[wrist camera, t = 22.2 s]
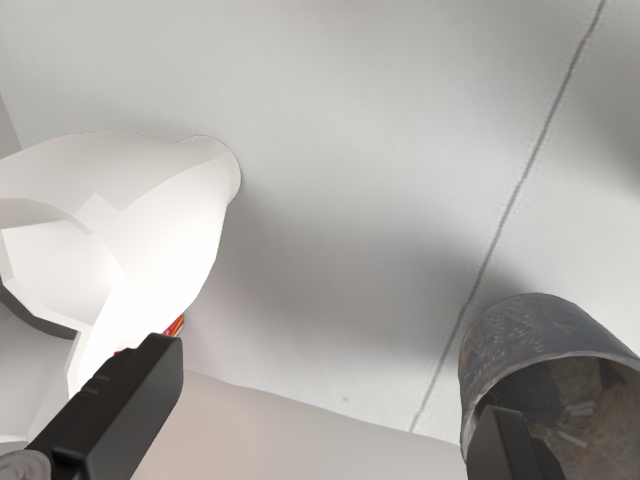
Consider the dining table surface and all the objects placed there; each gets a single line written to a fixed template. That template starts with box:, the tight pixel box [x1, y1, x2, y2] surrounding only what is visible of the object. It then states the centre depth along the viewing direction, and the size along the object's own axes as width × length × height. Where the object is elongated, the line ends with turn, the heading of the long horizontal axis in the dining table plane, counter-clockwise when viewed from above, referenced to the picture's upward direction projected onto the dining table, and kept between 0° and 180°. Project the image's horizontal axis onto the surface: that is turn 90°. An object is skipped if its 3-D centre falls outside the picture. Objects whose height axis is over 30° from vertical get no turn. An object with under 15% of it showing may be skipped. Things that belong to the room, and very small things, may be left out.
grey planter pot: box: [458, 293, 640, 480], centre depth 40 cm, size 18×18×15 cm
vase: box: [0, 131, 241, 443], centre depth 31 cm, size 15×15×29 cm
